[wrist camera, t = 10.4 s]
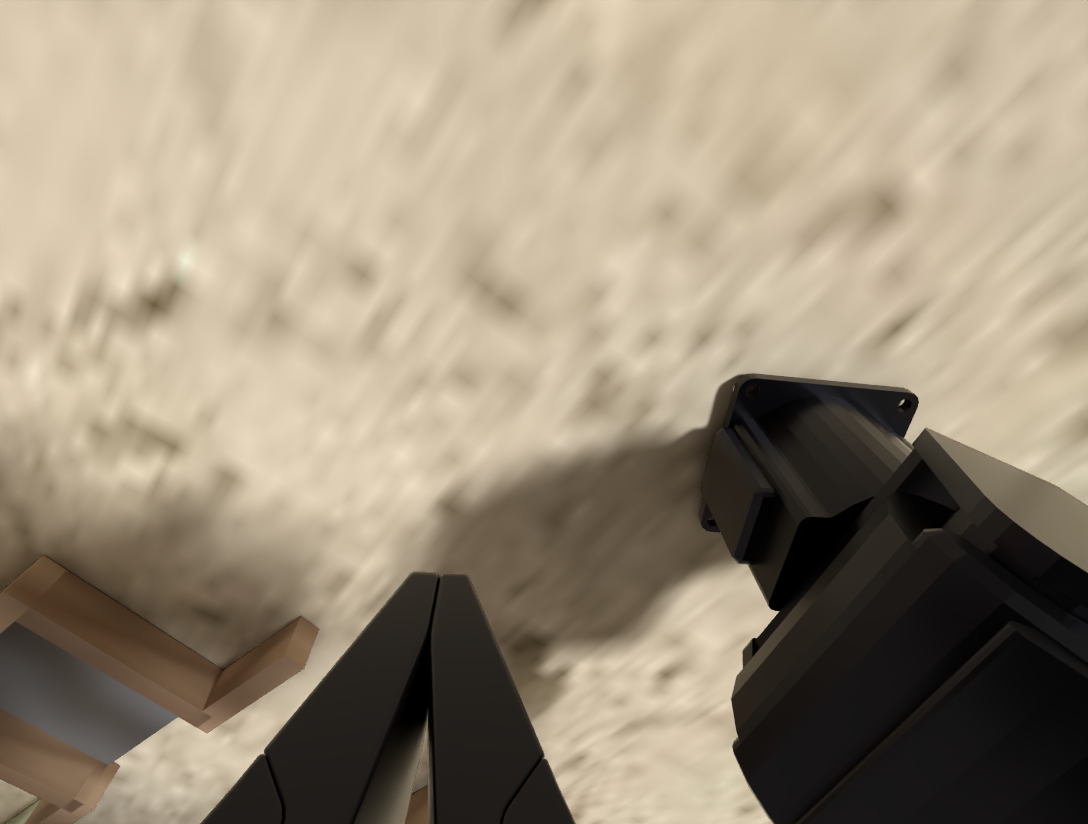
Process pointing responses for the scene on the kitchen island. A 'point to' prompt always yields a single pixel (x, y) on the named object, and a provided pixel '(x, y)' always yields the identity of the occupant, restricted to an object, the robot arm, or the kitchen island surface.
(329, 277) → the kitchen island surface
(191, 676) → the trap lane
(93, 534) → the kitchen island surface
